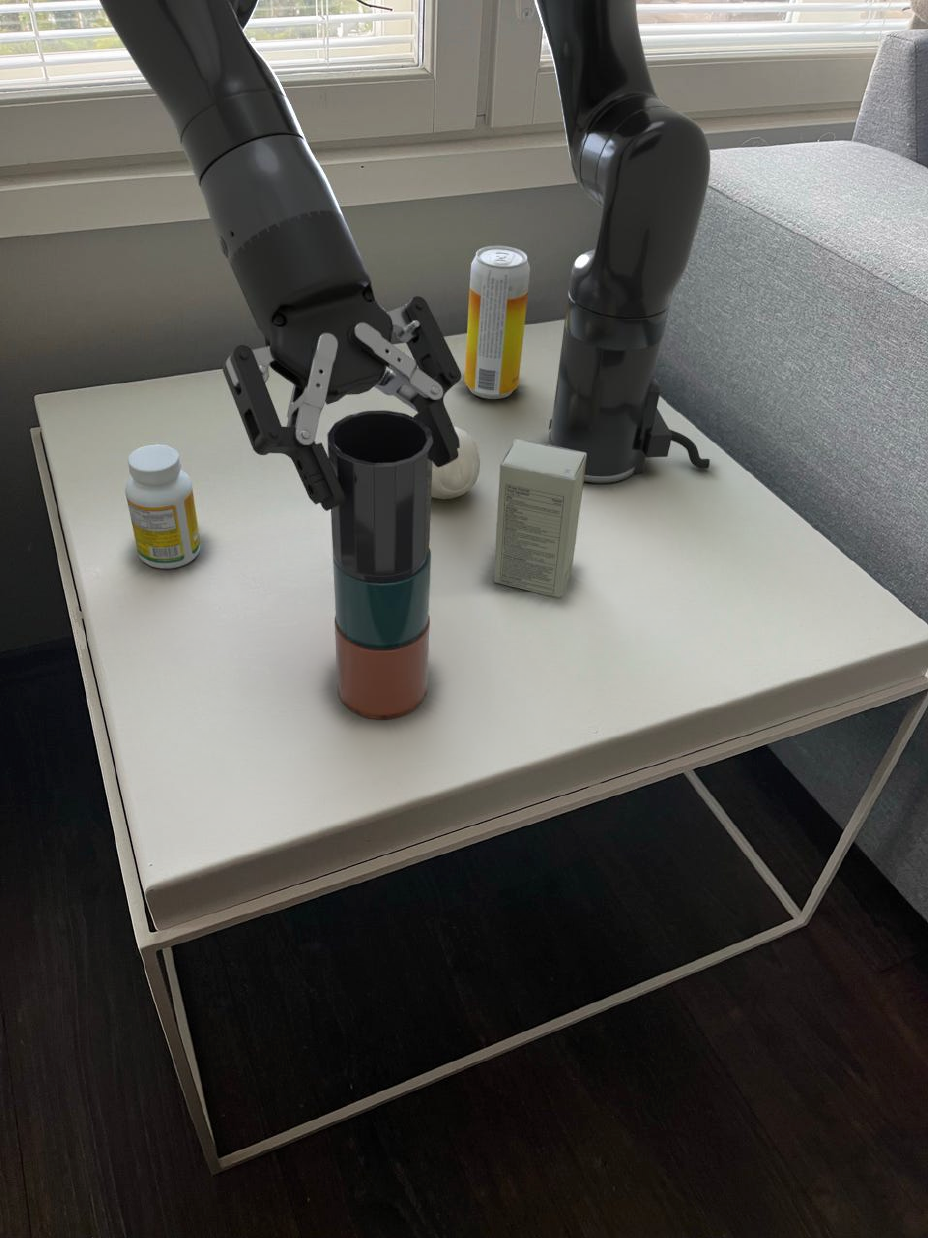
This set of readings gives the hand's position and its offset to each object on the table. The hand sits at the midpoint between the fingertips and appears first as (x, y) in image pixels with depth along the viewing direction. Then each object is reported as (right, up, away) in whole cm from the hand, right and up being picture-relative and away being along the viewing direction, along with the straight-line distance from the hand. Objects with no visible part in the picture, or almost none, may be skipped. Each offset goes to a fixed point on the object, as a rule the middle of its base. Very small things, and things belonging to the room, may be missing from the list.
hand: (394, 483), depth 60 cm
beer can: (+7, +17, +49) cm, 52 cm away
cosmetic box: (+10, -5, +25) cm, 27 cm away
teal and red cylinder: (-2, -14, +14) cm, 19 cm away
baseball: (+2, +4, +33) cm, 33 cm away
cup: (-1, -4, +5) cm, 7 cm away
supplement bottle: (-21, -3, +25) cm, 33 cm away
